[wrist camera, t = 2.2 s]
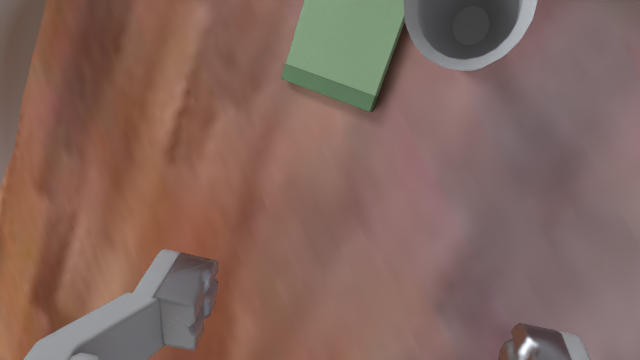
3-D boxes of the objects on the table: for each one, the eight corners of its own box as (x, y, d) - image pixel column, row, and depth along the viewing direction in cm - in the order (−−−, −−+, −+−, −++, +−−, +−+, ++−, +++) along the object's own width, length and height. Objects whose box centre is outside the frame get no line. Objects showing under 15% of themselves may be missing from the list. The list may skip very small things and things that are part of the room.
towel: (340, -106, 42) (336, -112, 41) (442, -81, 39) (441, -87, 38) (285, 79, 47) (280, 78, 46) (372, 111, 44) (369, 112, 43)
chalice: (436, 1, 41) (407, -70, 24) (517, -3, 38) (547, -83, 22) (431, 82, 42) (399, 70, 25) (508, 83, 40) (530, 70, 23)
